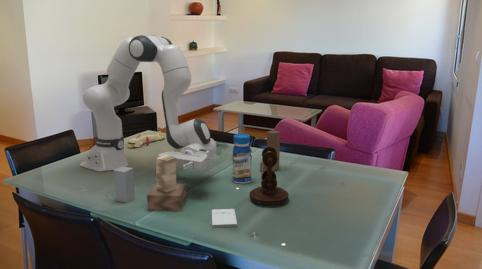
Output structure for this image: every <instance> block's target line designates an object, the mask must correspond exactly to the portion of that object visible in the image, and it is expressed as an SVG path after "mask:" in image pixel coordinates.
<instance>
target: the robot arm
mask: <svg viewBox="0 0 482 269" xmlns="http://www.w3.org/2000/svg"><path fill="white" fill-rule="evenodd" d="M141 63H158V65H159V67H160V68H161V70H160V71H161V73H162V77H163V83H164V84H163V89H162V90H161V104H162V111H163V116H164V122H165V137H166V138H165V140H166V142H167V144H168V145H170V147H172V148H174V149H176V150H180V151H173V150H171V151H170V150H168V151H163V152H162V153H159V154H157V158H158V157H161V156H164V155H168V156H172V157H176V167H178V168H180V170H184V171H185V170H189V169H191V170H199V171H203V170H206V169H207V168H209V167H210V166H211V165H210V164H211V158H212V157H213V156H214V155H215V153H216V151H217V143H216V142H215V140H214V139H213V138H211V130H210V128H209V126H208V124H207V123H206V122H205V121H204V120H203V119H201V118H197V117H196V118H194V119H191V120H188V121H186V122H183V123H179V117H178V111H177V103H178V100H179V98H180V97H181V96H182V95H183V94H184V93H185V92H187V90H188V89H189V87H190V86H191V84H192V76H191V75H192V74H191V70H190V68H189V64H188V61H187V59H186V56H185V55H184V52H183V50H182V49H181V47H180V46H179V45H177V44H173V43H172V41H171V40H170V39H168V38H167V37H164V36H159V35H142V34H141V35H136V36H134V37H133V36H129V37H126V38H125V39H124V40H123V41H122V42H121V43H120V45H119V46H118V48H117V49H116V51H115V53H114V55H113V56H112V58H111V61H110V62H109V63H108V66H107V68H106V73H107V75H108V76H107V80H106V81H105V82H104V83H103V84H97V85H92V86H91V87H89V88H87V89H86V90H85V91H84V92H83V95H82V101H83V104H84V105H85V107H86V108H87V109H89V110H90V111H91V112H92V115H93V117H94V119H95V124H96V130H97V137H96V138H95V137H94V138H93V142H95V144H94V145H93V146H91V148H89V150H87V151H86V153H85V155H84V156H85V157H84V160H83V161H82V162H80V164H79V165H80V166H79V167H82V168H85V169H88V170H92V171H95V172H107V171H114V170H115V169H118V168H120V167H122V166H123V167H128V165H129V163H128V161H127V157H126V156H127V155H126V151H125V147H124V146H125V138H124V135H123V123H122V119H121V118H120V117H119V116H118V115H117V114H116V111H115V107H117V106H120V105H122V104H124V103H125V102H127V101H128V99H129V98H130V88H129V87H130V83H131V80H132V79H133V76H134V75H135V73H136V71H137V69H138V67H139V66H140V64H141Z"/></svg>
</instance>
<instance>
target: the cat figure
mask: <svg viewBox="0 0 482 269" xmlns="http://www.w3.org/2000/svg"><path fill="white" fill-rule="evenodd" d="M157 130H158V131H157V133H156V134H146V135H141V134H139V135H138V136H137V137H136V138H129V140H128V141H127V144H128V145H127V146H128V148H131V149H132V148H141V146H142V145H143V143H146V146H147V147H148V146H149V144H150V143H151V142H152V141H155V142H156V141H164V140H166V138H165V136H164V135H162V136H161V135H160V134H161V133H162V131H163V130H162V128H161V127H160V126H158V127H157Z"/></svg>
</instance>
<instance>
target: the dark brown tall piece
mask: <svg viewBox="0 0 482 269" xmlns="http://www.w3.org/2000/svg"><path fill="white" fill-rule="evenodd" d="M261 156H262V158H261V162H262V161H263V163H262V170H261V171H260V182H261V183H260V184H261V186H257V187H255V188H253V189H252V190H250V191H249V196H248V197H249V198H250V200H252V201H253V202H254V203H255V205H256V206H257V205H258V203H259V204H264V205H277V204H280V205H281V206H284V202H286V201H287V200H288V199H289V192H288V191H287V190H285V189H284V188H281V187H279V186H278V180H277V174H276V173H275V171H272V167H273V166H274V165H275V164H276V163H277V161H278V157H277V152H276V150H275V149H274V148H273V147H267V146H266V147H265V148H263V149H262V152H261ZM264 165H265V166H266V167H267V171H265V172H263V168H264Z"/></svg>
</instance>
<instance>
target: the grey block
mask: <svg viewBox="0 0 482 269" xmlns="http://www.w3.org/2000/svg"><path fill="white" fill-rule="evenodd" d="M134 175H135V174H134V168H133V167H128V166H126V167H123V166H122V167H120V168H118V169H115V170H113V179H114V193H115V201H118V202H122V203H128V202H131V201H132V200H134V199H135V198H136V194H135V191H136V190H135V178H134V177H135V176H134Z"/></svg>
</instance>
